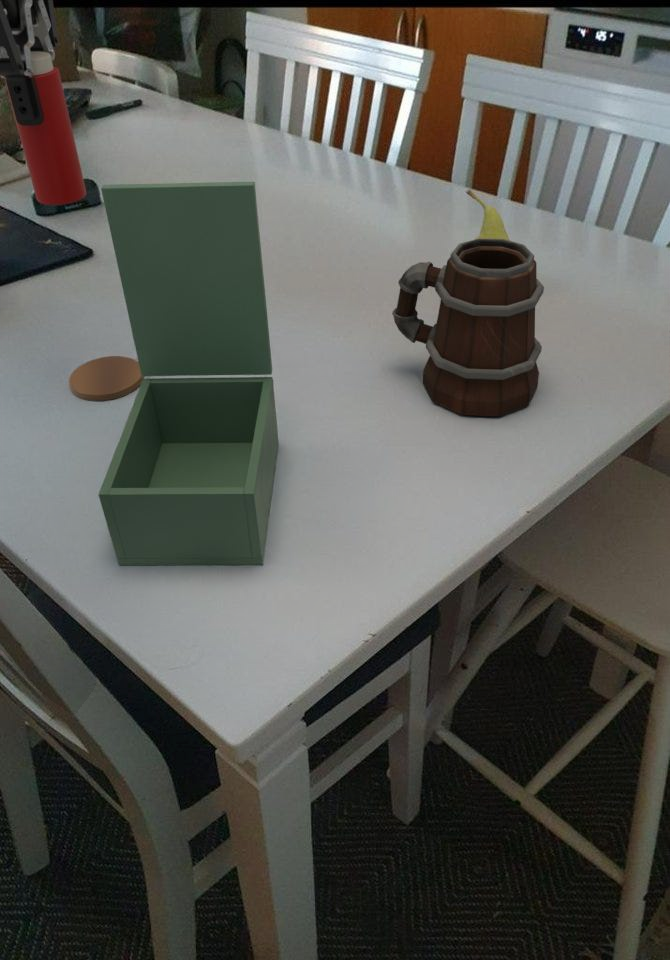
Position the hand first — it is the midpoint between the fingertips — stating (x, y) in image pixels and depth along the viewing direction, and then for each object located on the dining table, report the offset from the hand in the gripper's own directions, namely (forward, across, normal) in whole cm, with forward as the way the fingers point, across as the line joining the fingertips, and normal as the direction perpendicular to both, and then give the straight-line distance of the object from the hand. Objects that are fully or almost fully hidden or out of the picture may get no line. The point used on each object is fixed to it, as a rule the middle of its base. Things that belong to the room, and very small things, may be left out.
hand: (40, 114), depth 72 cm
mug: (+28, +1, +39) cm, 48 cm away
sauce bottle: (+7, 0, 0) cm, 7 cm away
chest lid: (+11, +12, +14) cm, 22 cm away
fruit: (+28, -22, +44) cm, 57 cm away
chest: (+28, +20, +14) cm, 37 cm away
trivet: (+28, 0, 0) cm, 28 cm away
